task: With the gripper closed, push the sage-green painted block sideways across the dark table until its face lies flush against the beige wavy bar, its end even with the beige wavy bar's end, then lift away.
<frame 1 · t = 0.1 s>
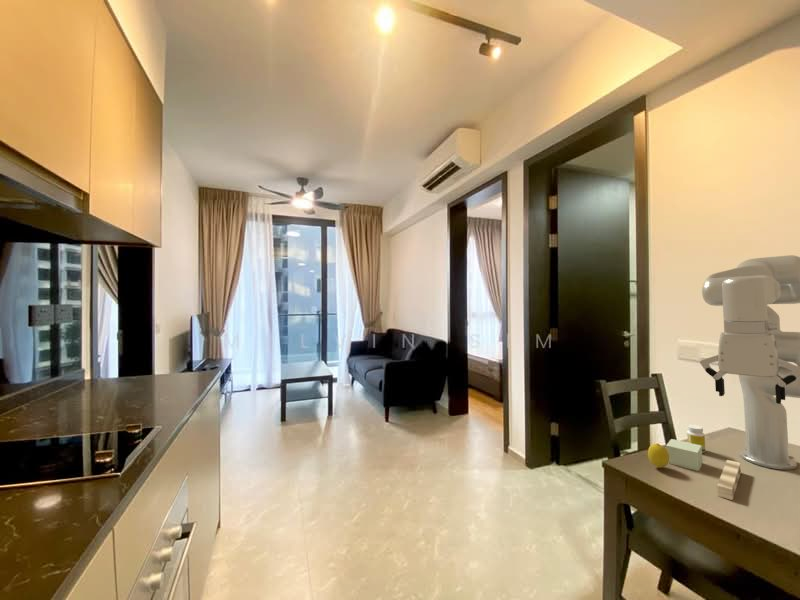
hand: (749, 398, 83), 31 cm above the table, fingers open, 9 cm apart
lemon: (659, 468, 112), on the table
beige wavy bar: (729, 483, 101), on the table
supplement bottle: (696, 450, 122), on the table
block: (684, 463, 114), on the table
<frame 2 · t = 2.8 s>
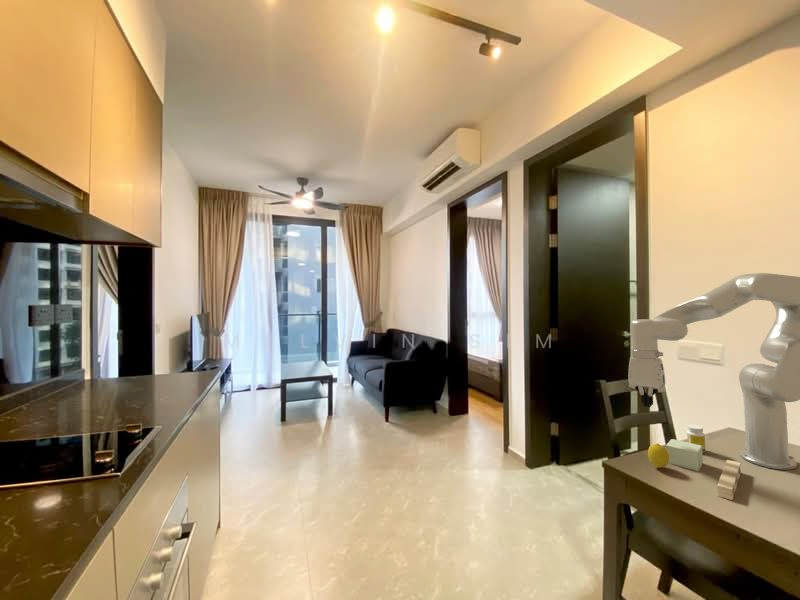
hand: (647, 406, 121), 17 cm above the table, fingers closed
nothing on the table moved.
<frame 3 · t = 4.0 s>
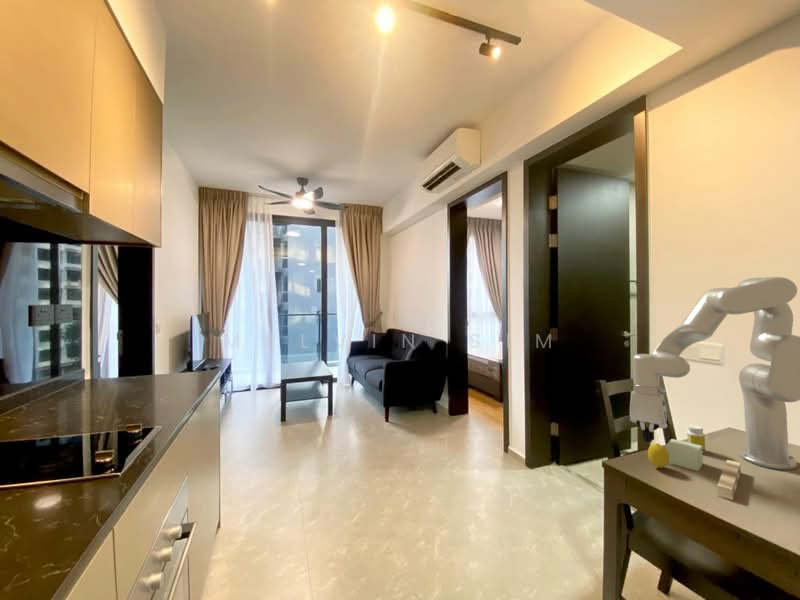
hand: (648, 440, 121), 5 cm above the table, fingers closed
nothing on the table moved.
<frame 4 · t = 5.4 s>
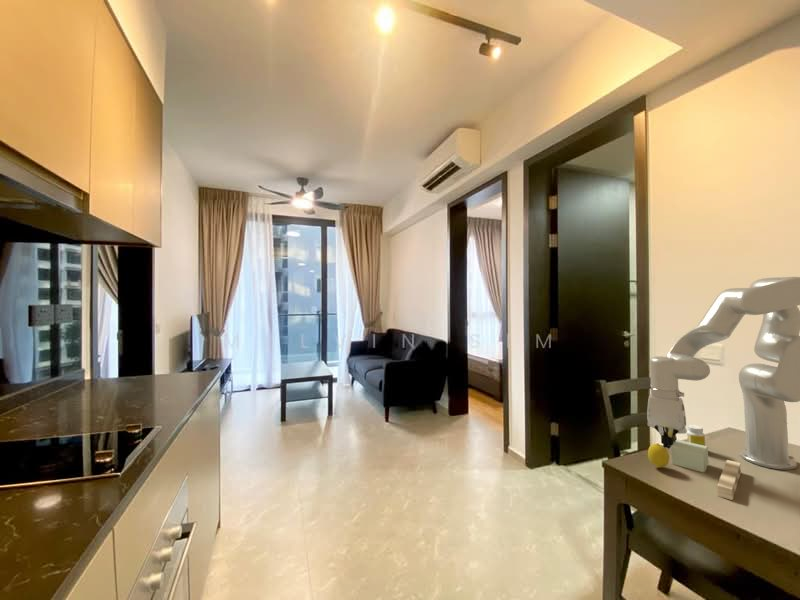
hand: (667, 446, 117), 4 cm above the table, fingers closed
block: (690, 464, 113), on the table, touching gripper
everything else where it was.
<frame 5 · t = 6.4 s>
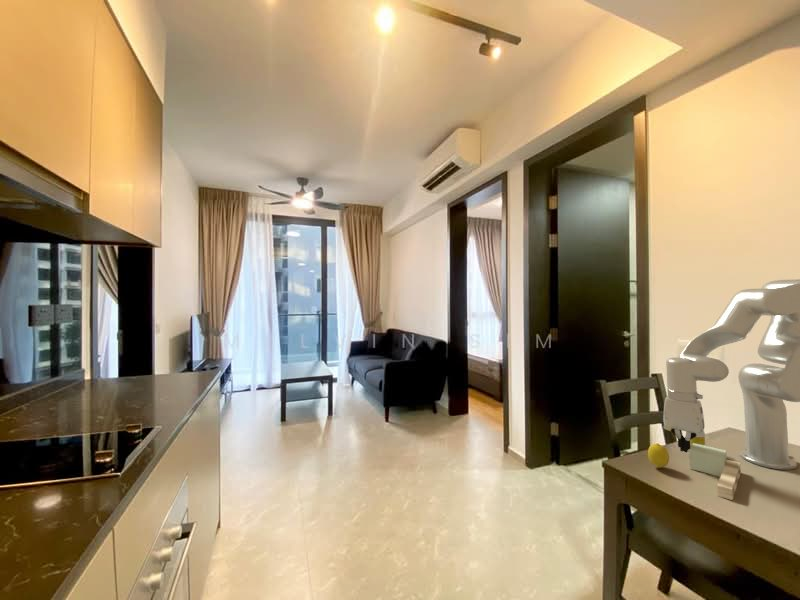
hand: (684, 450, 113), 4 cm above the table, fingers closed
block: (708, 468, 109), on the table, touching beige wavy bar, gripper
everything else where it was.
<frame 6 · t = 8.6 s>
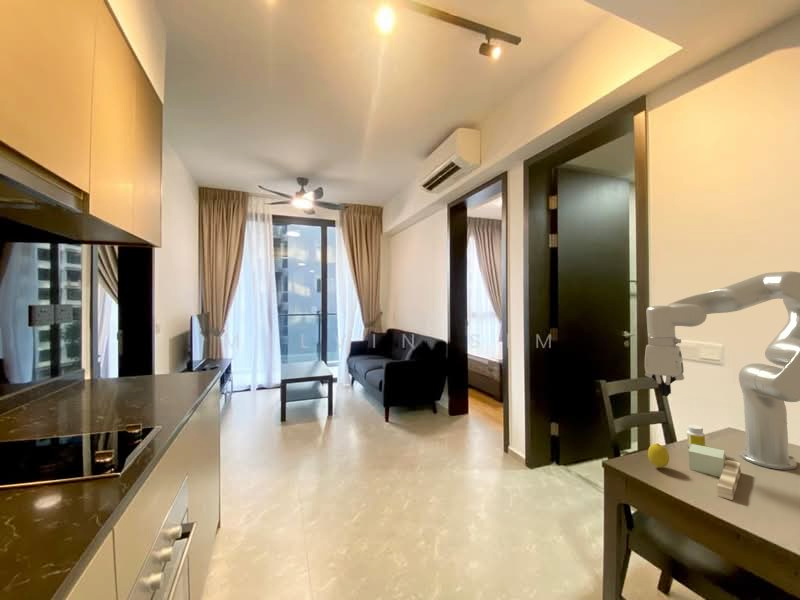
hand: (665, 395, 117), 22 cm above the table, fingers closed
block: (707, 469, 109), on the table
everything else where it was.
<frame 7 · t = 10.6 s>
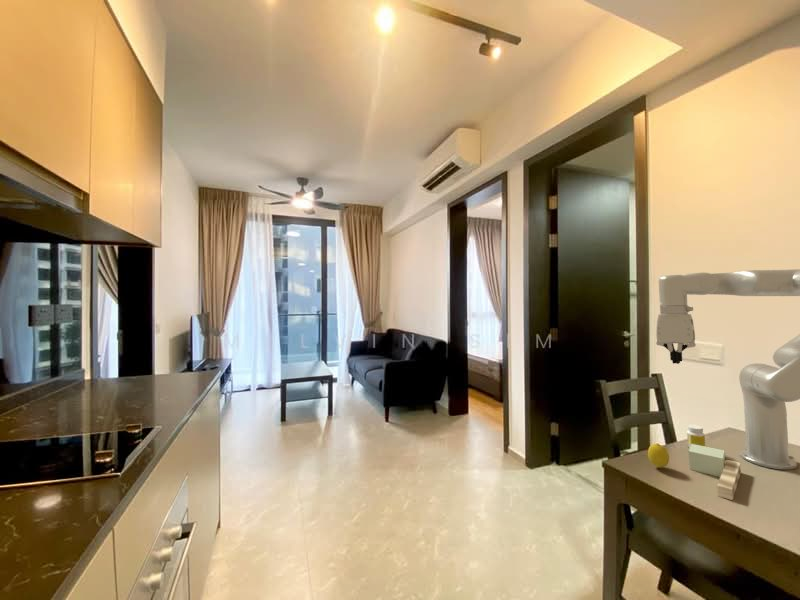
hand: (676, 362, 119), 32 cm above the table, fingers closed
nothing on the table moved.
at the end: block 0.2 cm from the target spot on the table beside the beige wavy bar, on the table; block tilted 0° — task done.
